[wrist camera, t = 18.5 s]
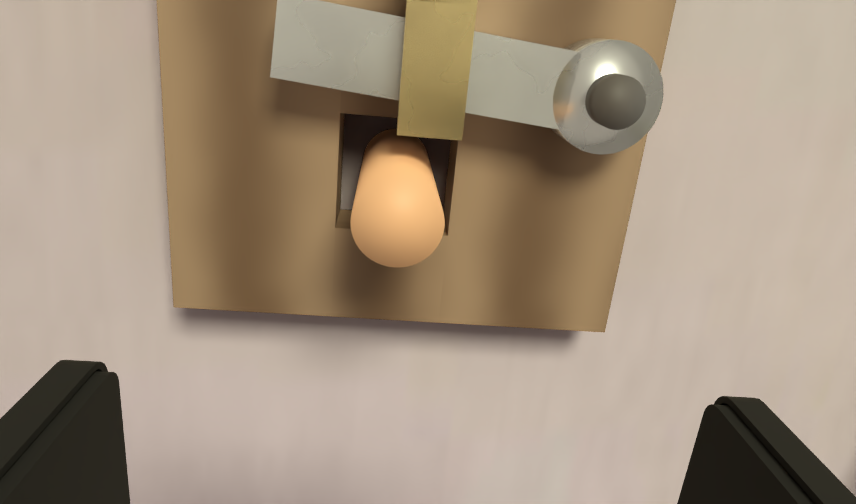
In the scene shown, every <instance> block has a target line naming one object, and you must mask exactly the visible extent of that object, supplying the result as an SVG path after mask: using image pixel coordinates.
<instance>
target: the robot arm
mask: <svg viewBox="0 0 856 504" xmlns="http://www.w3.org/2000/svg"><path fill="white" fill-rule="evenodd" d="M0 504H130V497H129V486H128V475H127V464H126V453H125V442H124V432H123V421H122V410H121V399H120V388H119V380H118V376H117V374H116V373H114V372H108V371H107V368H106V366H105V364H104V363H102V362H93V361H74V360H61V361H59V362H58V363H56V364H55V365H54V366H53V367H52V368H51V369H50V370H49V371H48V372H47V373H46V374H45V375H44V376H43V377H42V378H41V379H40V380H39V381H38V382H37V383H36V384H35V385H34V386H33V387H32V388H31V389H30V390H29V391H28V392H27V393H26V394H25V395H24V396H23V397H22V398H21V399H20V400H19V401H18V402H17V403H16V404H15V405H14V406H13V407H12V408H11V409H10V410H9V411H8V412H7V413H6V414H5V415H4V416H3V417H2V418H1V419H0ZM677 504H856V497H855V496H854V495H853V494H852V493H851V492H850V491H849V490H848V489H847V488H846V487H845V486H844V485H843V484H842V483H841V482H840V480H839V479H838V478H837V477H836V476H835V475H834V474H833V473H832V472H831V471H830V470H829V469H828V468H827V467H826V466H825V465H824V464H823V463H822V462H821V461H820V460H819V459H818V458H817V457H816V456H815V455H814V454H813V453H812V452H811V451H810V450H809V449H808V448H807V447H806V446H805V445H804V443H803V442H802V441H801V440H800V439H799V438H798V437H797V436H796V435H795V434H794V433H793V432H792V431H791V430H790V429H789V428H788V427H787V426H786V425H785V424H784V423H783V422H782V421H781V420H780V419H779V418H778V417H777V416H776V415H775V414H774V413H773V412H772V411H771V410H770V409H769V408H768V406H767V405H766V404H765V403H764V402H762V401H761V400H760V399H757V398H747V397H728V396H722V397H719V398H718V399H717V400H716V401H715V403H714V405H712V404H711V405H709V406H707V408H706V409H705V411H704V414H703V417H702V421H701V424H700V428H699V431H698V434H697V438H696V441H695V445H694V448H693V452H692V455H691V459H690V462H689V465H688V469H687V472H686V476H685V479H684V483H683V486H682V490H681V493H680V496H679V500H678V503H677Z"/></svg>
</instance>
